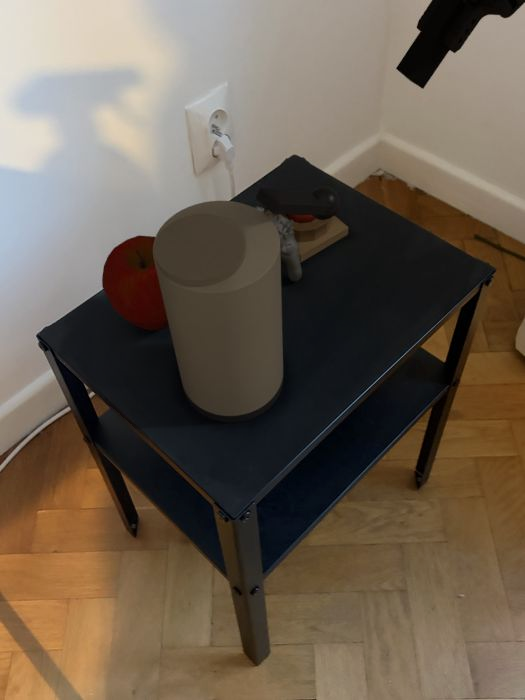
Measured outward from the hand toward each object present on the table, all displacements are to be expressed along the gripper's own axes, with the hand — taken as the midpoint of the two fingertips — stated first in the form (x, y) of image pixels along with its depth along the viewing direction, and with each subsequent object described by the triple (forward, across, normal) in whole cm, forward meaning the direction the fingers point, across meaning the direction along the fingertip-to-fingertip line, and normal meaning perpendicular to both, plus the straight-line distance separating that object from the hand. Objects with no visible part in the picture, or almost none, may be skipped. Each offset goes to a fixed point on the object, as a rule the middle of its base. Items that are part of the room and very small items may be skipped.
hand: (409, 78), depth 58 cm
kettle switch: (+14, 0, +3) cm, 14 cm away
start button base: (+19, +12, -17) cm, 28 cm away
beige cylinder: (+32, 0, -4) cm, 32 cm away
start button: (+17, +12, -15) cm, 26 cm away
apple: (+33, +11, -3) cm, 35 cm away
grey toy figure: (+25, +10, -11) cm, 29 cm away
